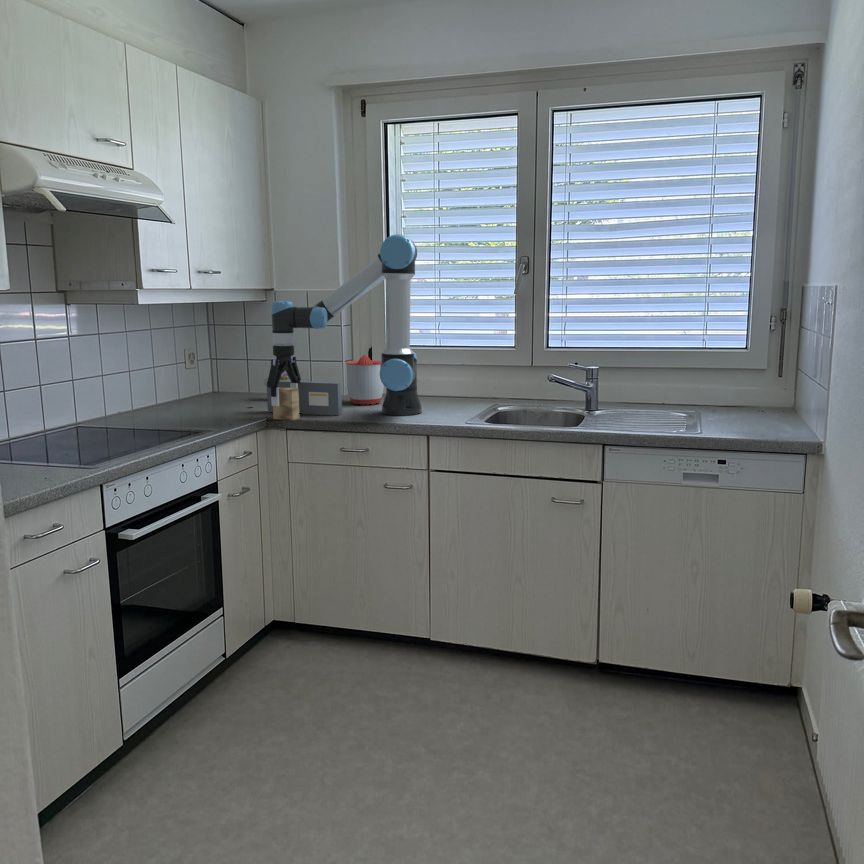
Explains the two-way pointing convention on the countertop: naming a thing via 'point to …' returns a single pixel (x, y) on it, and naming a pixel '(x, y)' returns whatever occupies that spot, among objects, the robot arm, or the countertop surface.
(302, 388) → the panel
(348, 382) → the citrus juicer
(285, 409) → the oak block
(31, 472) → the countertop surface
